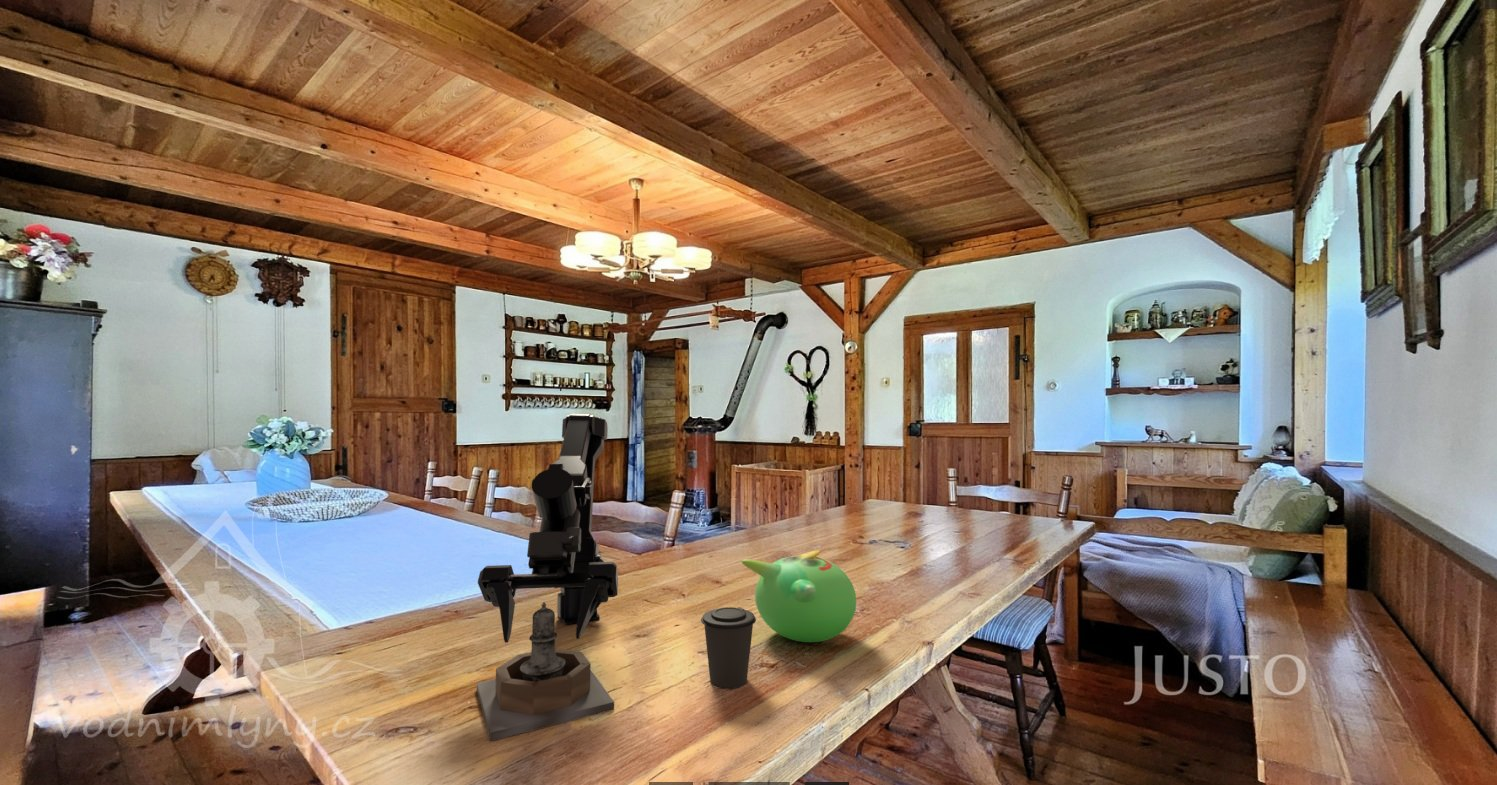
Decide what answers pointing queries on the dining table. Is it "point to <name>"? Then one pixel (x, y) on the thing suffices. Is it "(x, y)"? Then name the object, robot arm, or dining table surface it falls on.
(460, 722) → the dining table surface
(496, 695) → the socket
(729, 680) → the coffee cup
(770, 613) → the round green monster
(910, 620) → the dining table surface
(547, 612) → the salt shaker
